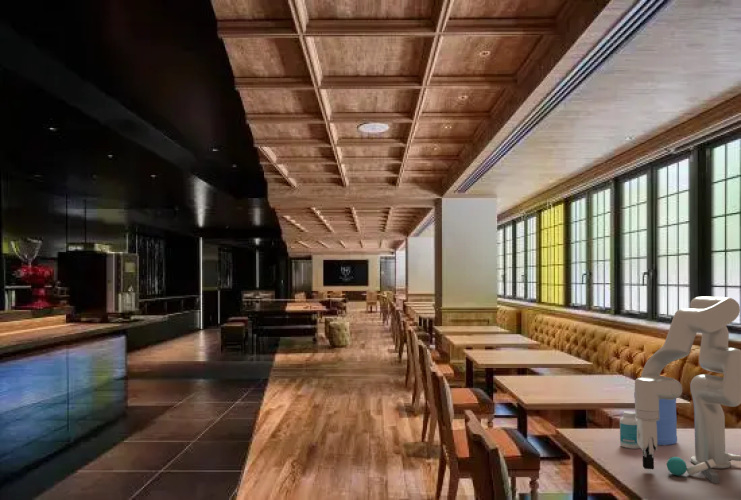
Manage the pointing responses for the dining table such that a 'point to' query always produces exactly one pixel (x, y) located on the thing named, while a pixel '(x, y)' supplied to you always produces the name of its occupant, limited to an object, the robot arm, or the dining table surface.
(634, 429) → the pill bottle
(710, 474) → the grey block
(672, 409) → the water jug
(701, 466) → the pin
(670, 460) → the ball
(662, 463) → the dining table surface
